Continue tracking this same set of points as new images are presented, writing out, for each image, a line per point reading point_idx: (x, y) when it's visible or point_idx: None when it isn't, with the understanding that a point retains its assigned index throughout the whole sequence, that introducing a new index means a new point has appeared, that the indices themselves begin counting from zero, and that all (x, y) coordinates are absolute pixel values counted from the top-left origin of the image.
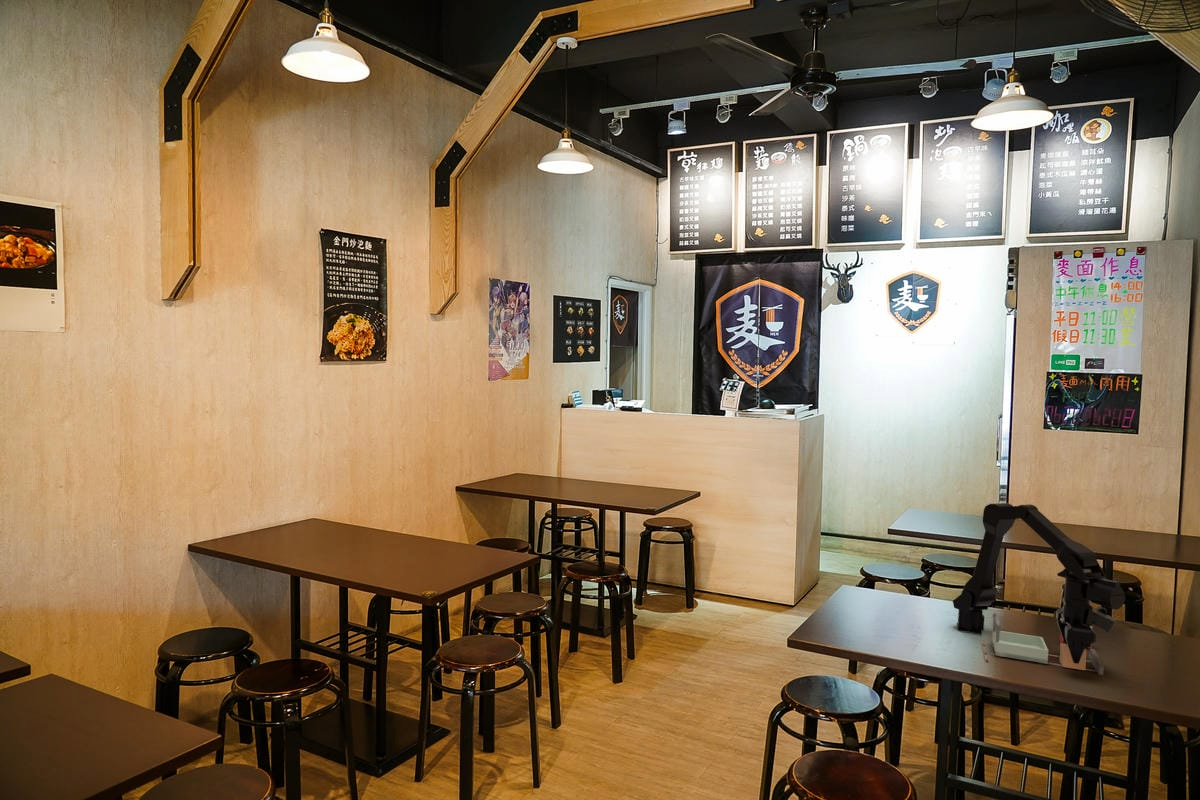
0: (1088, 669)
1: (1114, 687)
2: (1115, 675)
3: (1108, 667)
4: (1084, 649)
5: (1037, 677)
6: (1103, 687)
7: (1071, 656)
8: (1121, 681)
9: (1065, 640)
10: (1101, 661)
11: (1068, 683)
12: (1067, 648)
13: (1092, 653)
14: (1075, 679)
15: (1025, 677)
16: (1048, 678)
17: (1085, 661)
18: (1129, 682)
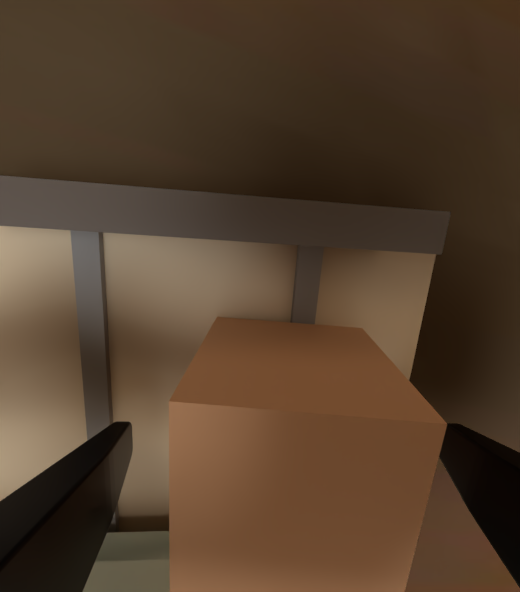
0: (306, 294)
1: (501, 178)
2: (246, 83)
3: (58, 79)
4: (377, 428)
5: (453, 538)
6: (516, 251)
7: (477, 512)
8: (369, 79)
9: (77, 582)
10: (358, 210)
11: (498, 424)
12: (399, 583)
13: (77, 230)
14: (427, 380)
15: (468, 578)
16: (453, 498)
17: (386, 359)
18: (370, 13)
